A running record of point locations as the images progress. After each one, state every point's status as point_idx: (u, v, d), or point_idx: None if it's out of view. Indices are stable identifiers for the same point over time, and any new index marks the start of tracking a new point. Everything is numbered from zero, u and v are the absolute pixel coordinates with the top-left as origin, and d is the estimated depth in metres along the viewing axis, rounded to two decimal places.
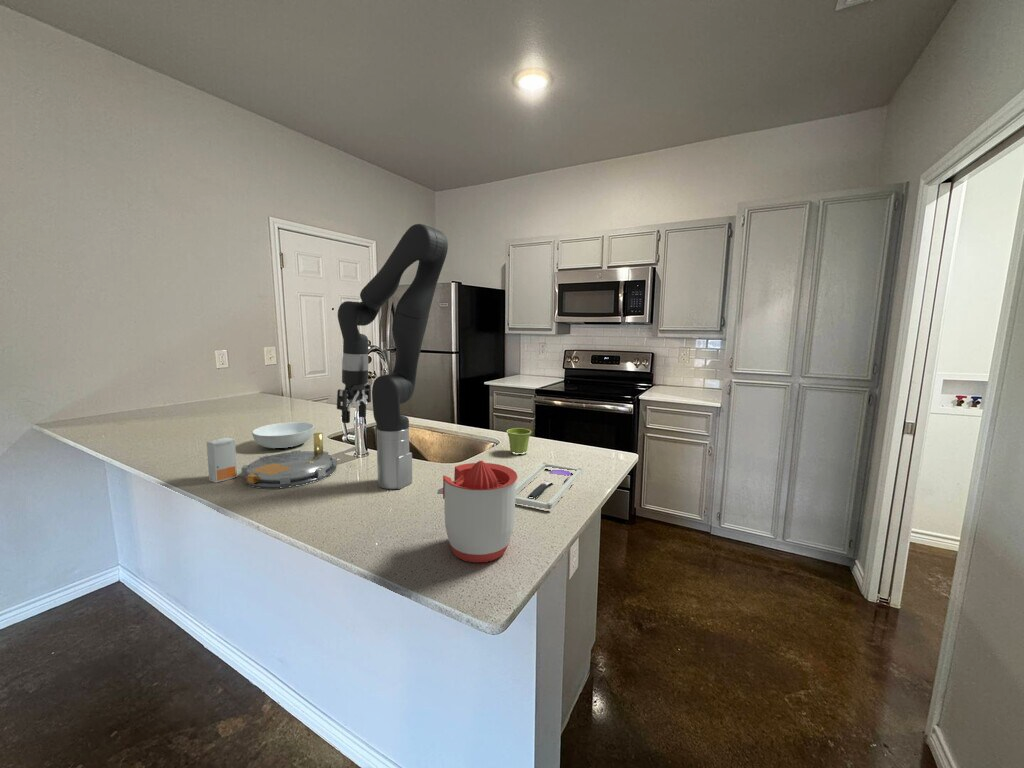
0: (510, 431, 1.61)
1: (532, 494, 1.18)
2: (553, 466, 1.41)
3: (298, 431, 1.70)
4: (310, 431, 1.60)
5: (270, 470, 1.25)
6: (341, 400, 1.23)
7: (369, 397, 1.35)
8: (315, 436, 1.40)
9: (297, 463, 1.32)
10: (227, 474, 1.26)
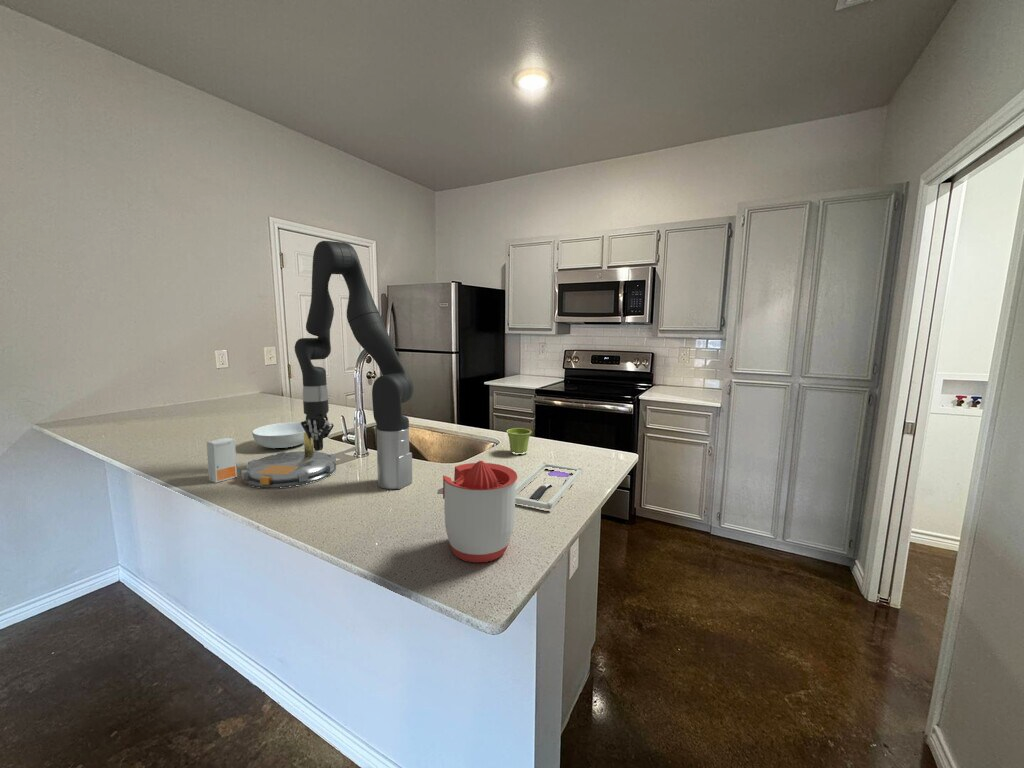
0: (510, 431, 1.61)
1: (533, 497, 1.16)
2: (553, 466, 1.41)
3: (298, 431, 1.70)
4: None
5: (279, 471, 1.25)
6: (328, 432, 1.38)
7: None
8: (307, 435, 1.41)
9: (299, 462, 1.33)
10: (227, 474, 1.26)
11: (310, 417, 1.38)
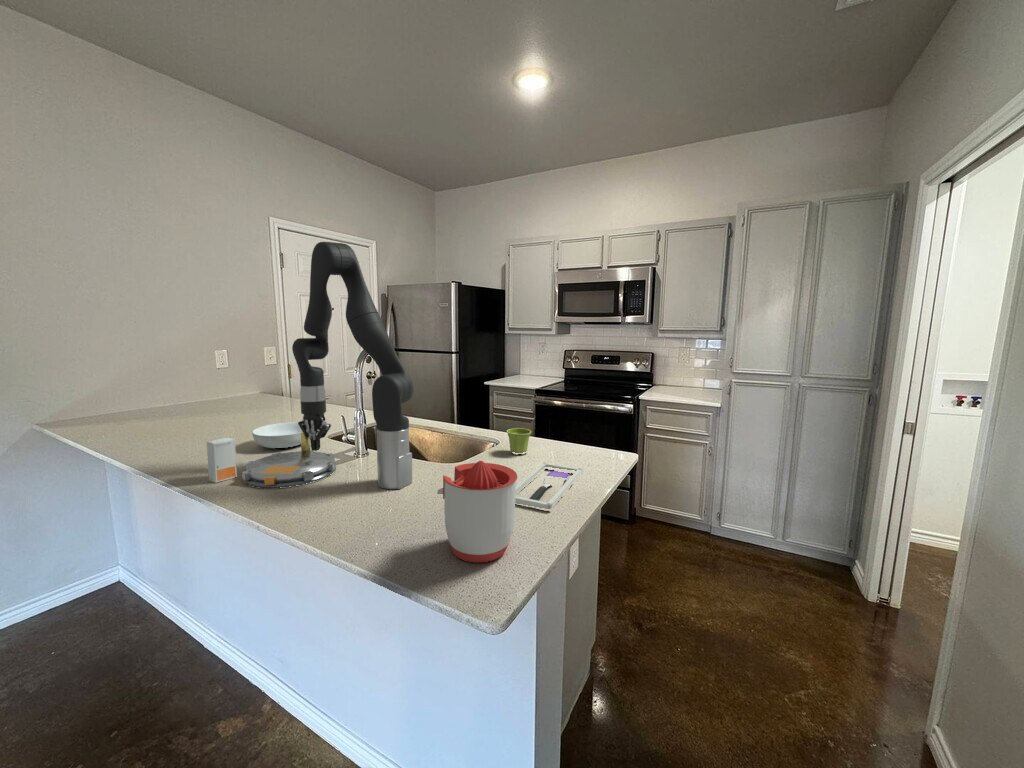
0: (510, 431, 1.61)
1: (533, 497, 1.16)
2: (553, 466, 1.41)
3: (298, 431, 1.70)
4: None
5: (282, 471, 1.25)
6: (325, 432, 1.38)
7: None
8: (304, 435, 1.41)
9: (299, 462, 1.33)
10: (227, 474, 1.26)
11: (307, 417, 1.39)
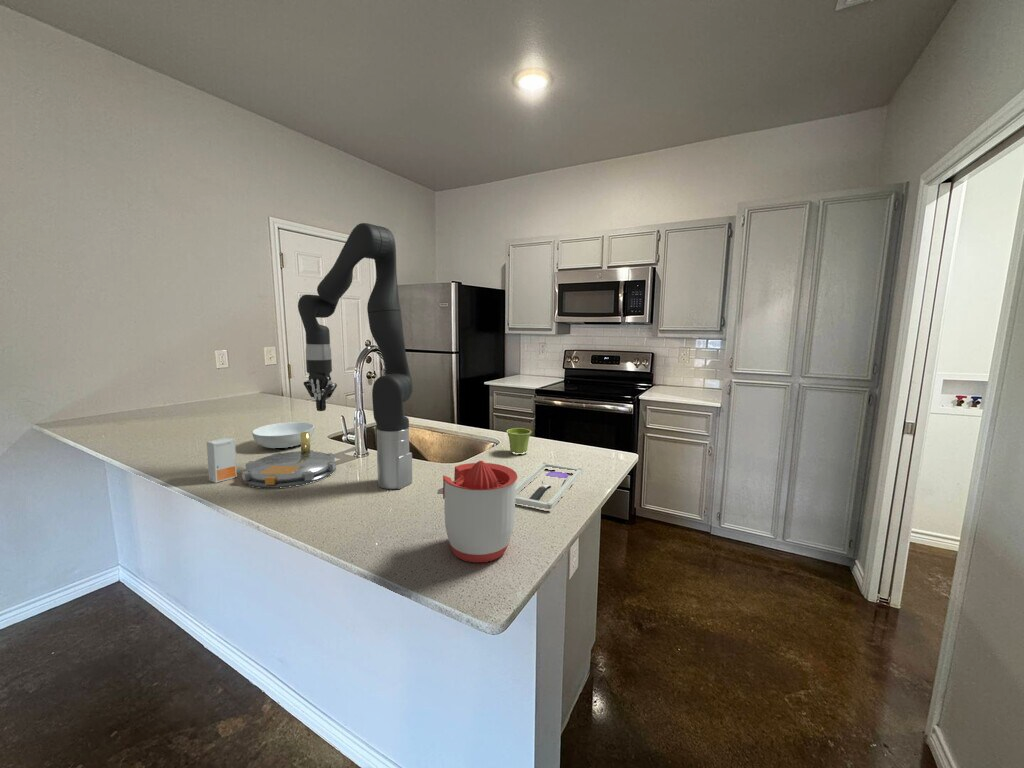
0: (510, 431, 1.61)
1: (532, 498, 1.16)
2: (553, 466, 1.41)
3: (298, 431, 1.70)
4: (310, 431, 1.60)
5: (282, 471, 1.25)
6: (331, 392, 1.35)
7: None
8: (304, 435, 1.41)
9: (299, 462, 1.33)
10: (227, 474, 1.26)
11: (313, 377, 1.36)
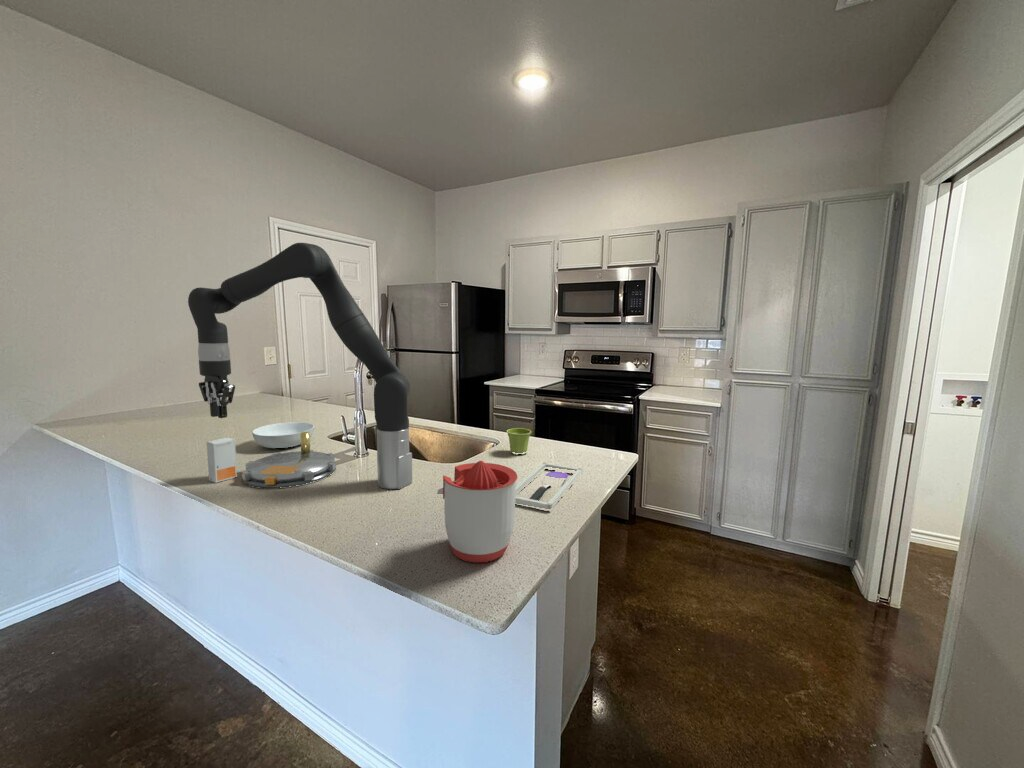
0: (510, 431, 1.61)
1: (532, 498, 1.15)
2: (553, 466, 1.41)
3: (298, 431, 1.70)
4: (310, 431, 1.60)
5: (282, 471, 1.25)
6: (230, 395, 1.21)
7: None
8: (304, 435, 1.41)
9: (299, 462, 1.33)
10: (227, 474, 1.26)
11: (208, 379, 1.22)
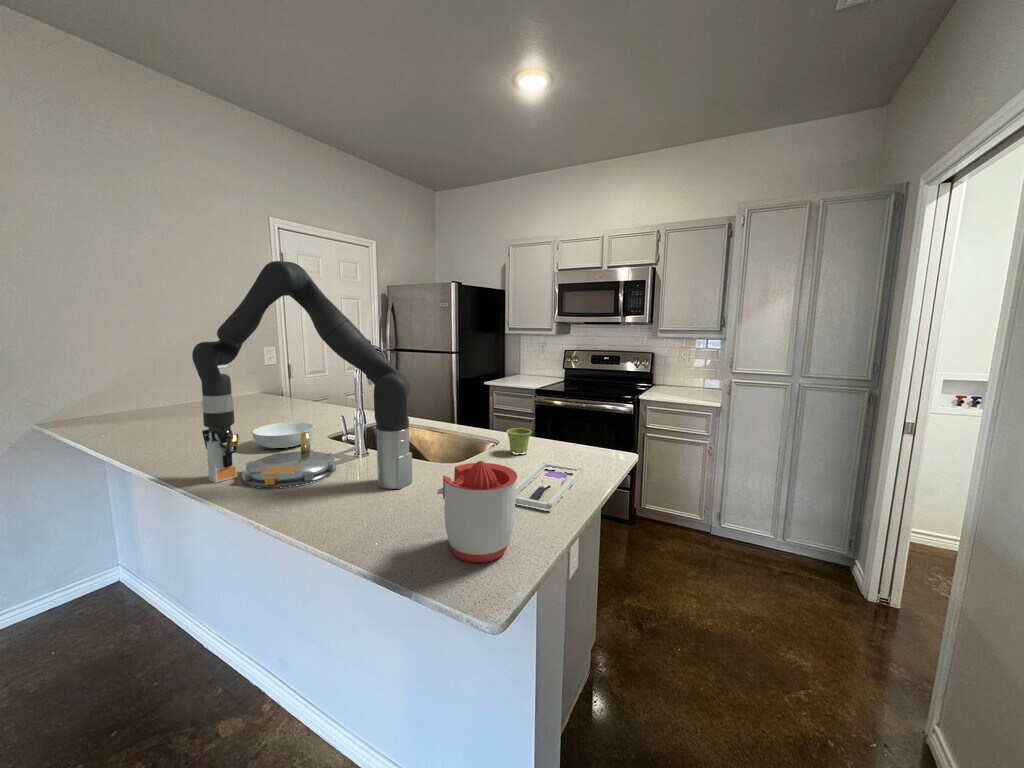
0: (510, 431, 1.61)
1: (532, 498, 1.15)
2: (553, 466, 1.41)
3: (298, 431, 1.70)
4: (310, 431, 1.60)
5: (282, 471, 1.25)
6: (234, 445, 1.23)
7: None
8: (304, 435, 1.41)
9: (299, 462, 1.33)
10: (227, 474, 1.26)
11: (212, 429, 1.24)
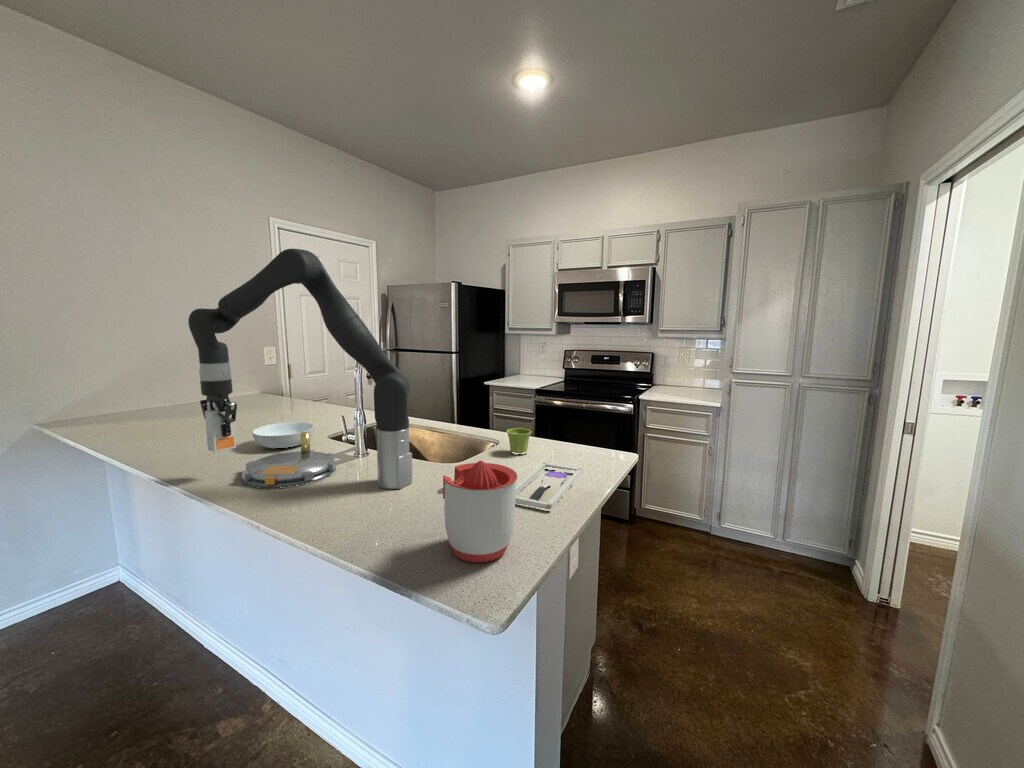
0: (510, 431, 1.61)
1: (532, 498, 1.15)
2: (553, 466, 1.41)
3: (298, 431, 1.70)
4: (310, 431, 1.60)
5: (282, 471, 1.25)
6: (233, 413, 1.22)
7: None
8: (304, 435, 1.41)
9: (299, 462, 1.33)
10: (226, 444, 1.24)
11: (210, 399, 1.23)
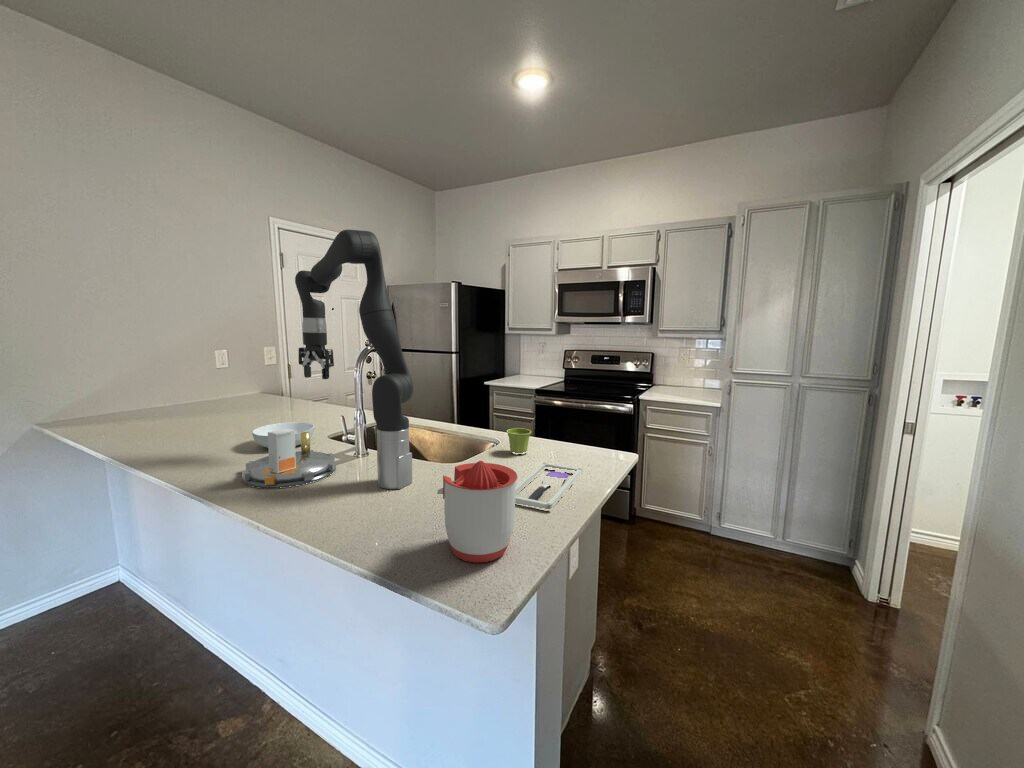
0: (510, 431, 1.61)
1: (531, 497, 1.16)
2: (553, 466, 1.41)
3: (298, 431, 1.70)
4: (310, 431, 1.60)
5: None
6: (331, 358, 1.42)
7: None
8: (304, 435, 1.41)
9: (299, 462, 1.33)
10: (287, 465, 1.25)
11: (309, 349, 1.44)
